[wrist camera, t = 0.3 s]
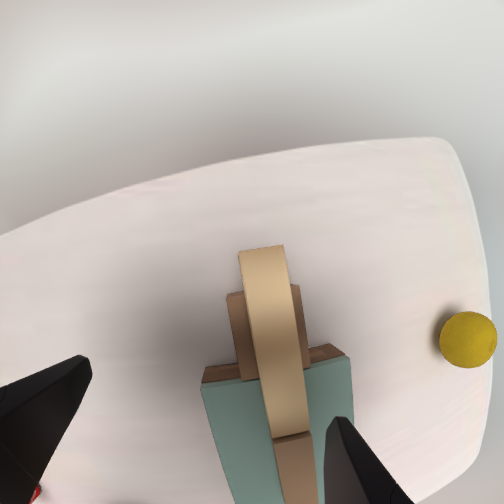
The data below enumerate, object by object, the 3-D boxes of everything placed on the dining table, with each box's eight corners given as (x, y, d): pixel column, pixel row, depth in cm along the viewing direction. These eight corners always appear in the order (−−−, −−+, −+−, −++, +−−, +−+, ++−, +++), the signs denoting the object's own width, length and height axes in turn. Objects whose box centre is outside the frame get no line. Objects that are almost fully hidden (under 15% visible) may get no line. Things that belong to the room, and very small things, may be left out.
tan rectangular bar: (300, 410, 18) (310, 429, 15) (267, 417, 18) (272, 438, 15) (275, 248, 19) (283, 244, 16) (237, 255, 19) (238, 251, 16)
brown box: (339, 471, 23) (353, 494, 18) (239, 492, 22) (241, 519, 17) (320, 276, 24) (339, 277, 19) (191, 299, 23) (182, 305, 19)
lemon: (431, 367, 24) (479, 388, 16) (420, 325, 24) (474, 338, 16) (462, 340, 25) (511, 352, 17) (453, 299, 25) (506, 303, 17)
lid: (348, 485, 20) (366, 515, 15) (241, 509, 19) (243, 544, 14) (341, 352, 21) (370, 372, 16) (202, 379, 20) (194, 410, 15)
